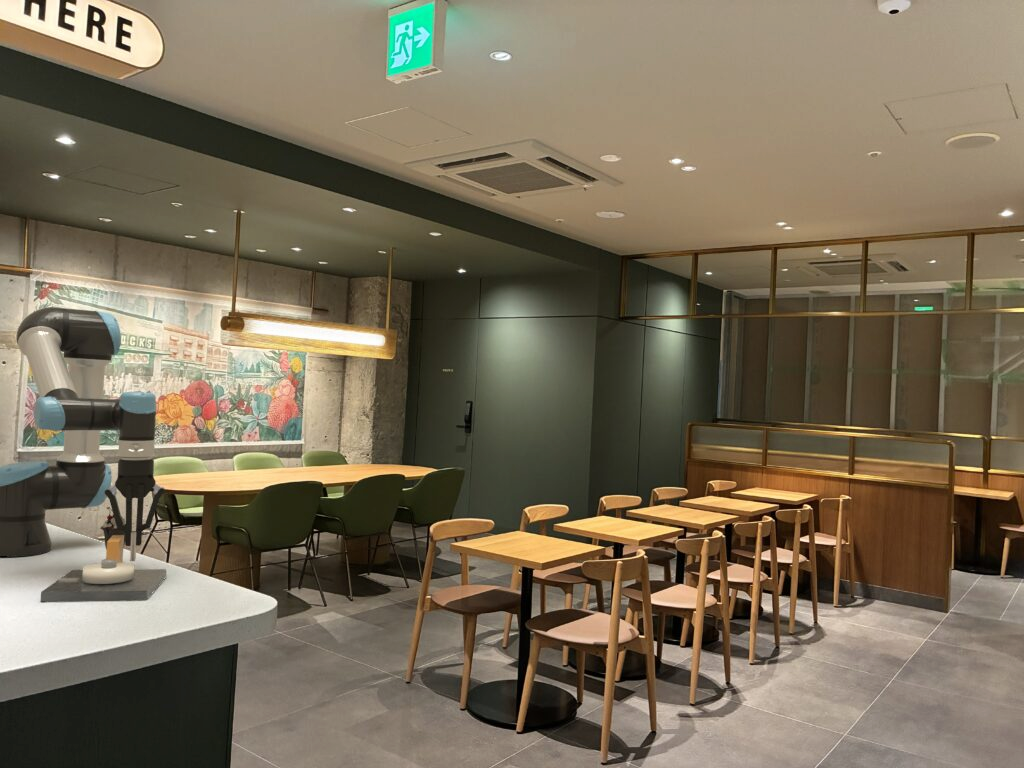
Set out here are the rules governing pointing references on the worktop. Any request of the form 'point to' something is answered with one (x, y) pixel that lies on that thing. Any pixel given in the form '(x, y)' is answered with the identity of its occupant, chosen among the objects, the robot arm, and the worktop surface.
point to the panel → (104, 587)
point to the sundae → (112, 528)
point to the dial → (110, 565)
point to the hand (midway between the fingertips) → (132, 559)
